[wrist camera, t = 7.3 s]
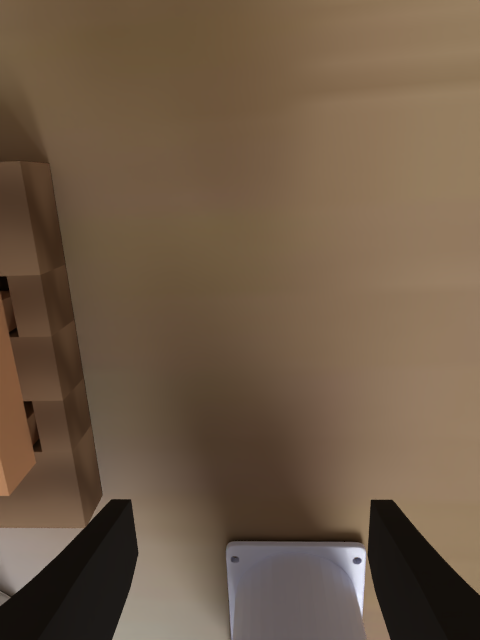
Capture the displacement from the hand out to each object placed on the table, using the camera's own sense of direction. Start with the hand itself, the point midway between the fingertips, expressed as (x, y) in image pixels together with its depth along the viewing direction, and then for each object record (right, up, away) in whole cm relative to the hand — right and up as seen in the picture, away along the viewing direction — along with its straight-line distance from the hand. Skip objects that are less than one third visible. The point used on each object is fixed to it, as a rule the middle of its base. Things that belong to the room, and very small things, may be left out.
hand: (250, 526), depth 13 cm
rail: (-12, +5, +9) cm, 16 cm away
